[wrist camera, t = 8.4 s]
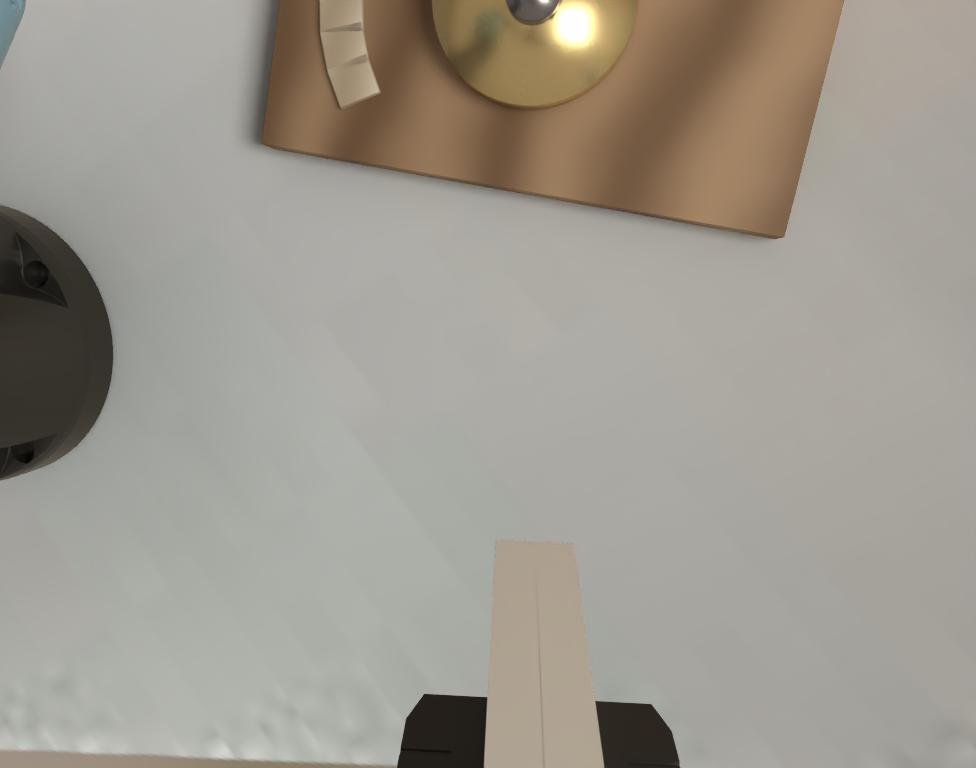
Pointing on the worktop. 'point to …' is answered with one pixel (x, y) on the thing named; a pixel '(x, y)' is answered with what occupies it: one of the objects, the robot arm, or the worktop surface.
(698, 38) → the gauge board
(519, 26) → the dial
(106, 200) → the worktop surface
